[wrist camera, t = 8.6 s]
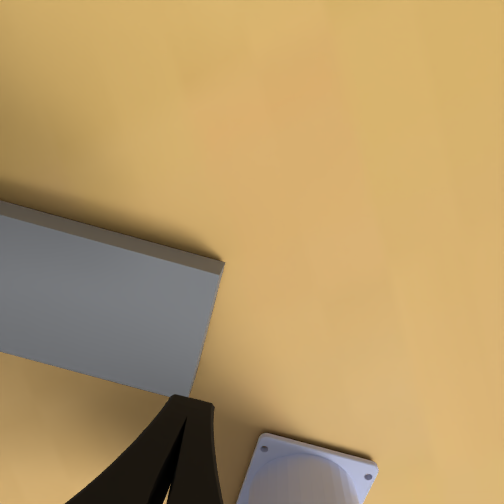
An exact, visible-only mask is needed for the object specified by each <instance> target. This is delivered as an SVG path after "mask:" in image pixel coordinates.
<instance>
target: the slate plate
mask: <svg viewBox="0 0 504 504" xmlns="http://www.w3.org/2000/svg"><path fill="white" fill-rule="evenodd" d="M224 265H225V262H222V261H218V260H214V259H211V258H207V257H204V256H200V255H196V254H193V253H189V252H186V251H182V250H178V249H175V248H171V247H167V246H164V245H160V244H157V243H153V242H149V241H146V240H142V239H138V238H135V237H131V236H128V235H124V234H120V233H117V232H113V231H109V230H106V229H102V228H99V227H95V226H91V225H88V224H84V223H80V222H77V221H73V220H70V219H66V218H62V217H59V216H55V215H52V214H48V213H44V212H41V211H37V210H33V209H30V208H26V207H23V206H19V205H15V204H12V203H8V202H4V201H1V200H0V352H4V353H8V354H11V355H15V356H19V357H22V358H26V359H30V360H34V361H37V362H41V363H45V364H49V365H52V366H56V367H60V368H63V369H67V370H71V371H75V372H78V373H82V374H86V375H90V376H93V377H97V378H101V379H105V380H108V381H112V382H116V383H119V384H123V385H127V386H131V387H134V388H138V389H142V390H146V391H149V392H153V393H157V394H160V395H164V396H168V397H171V396H172V395H174V394H177V395H181V396H185V397H189V394H190V392H191V389H192V386H193V383H194V380H195V376H196V372H197V369H198V365H199V361H200V357H201V353H202V349H203V346H204V342H205V338H206V334H207V330H208V326H209V323H210V319H211V315H212V311H213V307H214V303H215V300H216V296H217V292H218V288H219V284H220V280H221V277H222V273H223V269H224Z"/></svg>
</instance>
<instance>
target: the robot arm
mask: <svg viewBox="0 0 504 504" xmlns="http://www.w3.org/2000/svg"><path fill="white" fill-rule="evenodd" d="M214 408H215V407H214V406H213V404H212V403H208V402H205V401H201V400H197V399H193V398H189V397H185V396H181V395H177V394H174V395H172V396H171V397H170V398H169V400H168V401H167V403H166V404H165V406H164V407H163V408H162V410H161V411H160V412H159V413H158V415H157V416H156V417H155V418H154V420H153V421H152V422H151V423H150V424H149V425H148V427H147V428H146V429H145V430H144V431H143V432H142V433H141V434H140V435H139V436H138V438H137V439H136V440H135V441H134V442H133V443H132V444H131V445H130V446H129V447H128V448H127V449H126V450H125V451H124V452H123V453H122V454H121V455H120V456H119V457H118V458H117V459H116V460H115V461H114V462H113V463H112V464H111V465H110V466H109V467H108V468H106V469H105V470H104V471H103V472H102V473H101V474H100V475H99V476H98V477H96V478H95V479H94V480H93V481H92V482H91V483H89V484H88V485H87V486H86V487H85V488H84V489H82V490H81V491H80V492H79V493H78V494H76V495H75V496H74V497H73V498H71V499H70V500H69V501H67V502H66V503H65V504H163V502H164V499H165V497H166V494H167V492H168V489H169V487H170V490H169V495H168V499H167V504H223V500H222V494H221V489H220V484H219V478H218V471H217V464H216V456H215V447H214V431H213V418H214ZM262 446H266V447H262ZM378 471H379V470H378V467H377V464H376V463H375V462H374V461H371V460H367V459H363V458H360V457H356V456H352V455H348V454H345V453H341V452H337V451H333V450H330V449H326V448H322V447H318V446H315V445H311V444H307V443H303V442H300V441H296V440H292V439H289V438H285V437H281V436H277V435H274V434H270V433H263V434H261V435H260V436H259V439H258V442H257V445H256V447H255V450H254V453H253V456H252V459H251V462H250V465H249V467H248V470H247V473H246V476H245V479H244V482H243V485H242V487H241V490H240V493H239V496H238V499H237V502H236V504H363V502H364V500H365V498H366V496H367V494H368V492H369V490H370V488H371V486H372V484H373V482H374V480H375V478H376V476H377V474H378ZM366 474H368V475H366ZM170 484H171V485H170Z"/></svg>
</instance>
